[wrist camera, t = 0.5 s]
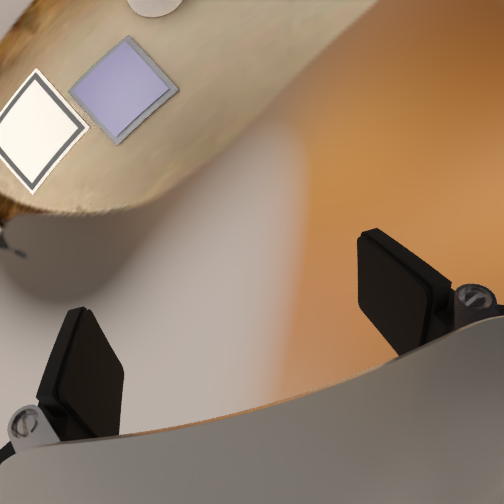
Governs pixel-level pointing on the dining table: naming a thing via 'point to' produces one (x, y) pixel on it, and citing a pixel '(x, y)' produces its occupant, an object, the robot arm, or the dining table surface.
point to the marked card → (37, 130)
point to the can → (153, 7)
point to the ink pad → (122, 90)
